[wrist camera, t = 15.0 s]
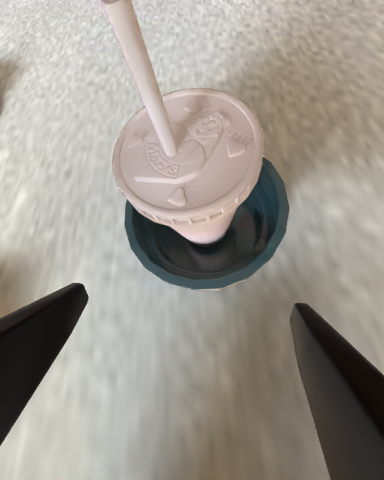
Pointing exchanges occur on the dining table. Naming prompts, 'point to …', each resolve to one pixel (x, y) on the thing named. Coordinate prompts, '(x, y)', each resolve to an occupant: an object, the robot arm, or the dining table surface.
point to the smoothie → (183, 146)
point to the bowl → (223, 253)
